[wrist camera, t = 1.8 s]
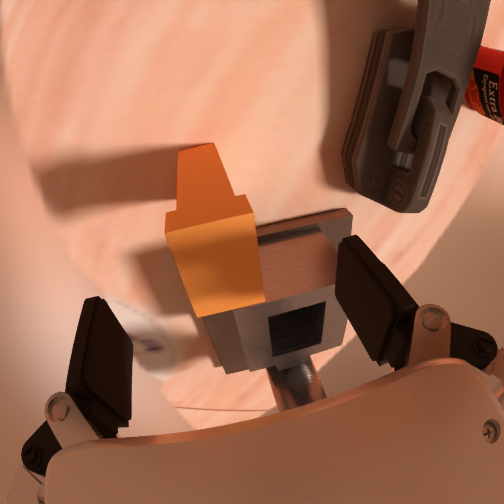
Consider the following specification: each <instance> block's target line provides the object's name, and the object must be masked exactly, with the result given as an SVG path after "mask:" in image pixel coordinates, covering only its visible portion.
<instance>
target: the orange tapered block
mask: <svg viewBox="0 0 504 504" xmlns="http://www.w3.org/2000/svg"><path fill="white" fill-rule="evenodd" d="M165 236H166V239H167V241H168V244H169V247H170V250H171V253H172V255H173V258H174V261H175V263H176V266H177V269H178V271H179V274H180V277H181V279H182V282H183V284H184V287H185V289H186V292H187V294H188V297H189V299H190V302H191V304H192V307H193V309H194V312H195V314H196V316H197V318H198V317H203V316H207V315H211V314H216V313H220V312H224V311H229V310H233V309H237V308H241V307H245V306H249V305H253V304H257V303H261V302H265V294H264V286H263V279H262V271H261V264H260V256H259V249H258V241H257V234H256V227H255V220H254V212H253V210H252V208H251V206H250V204H249V202H248V199H247V197H246V195H245V194H244V195H239V196H235V195H234V192H233V189H232V187H231V184H230V182H229V179H228V177H227V174H226V172H225V169H224V167H223V164H222V162H221V159H220V156H219V154H218V151H217V149H216V146H215V144H214V143H211V144H207V145H202V146H198V147H193V148H189V149H185V150H181V151H178V167H177V209H176V210H175V211H171V212H167V213H166V220H165Z"/></svg>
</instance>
